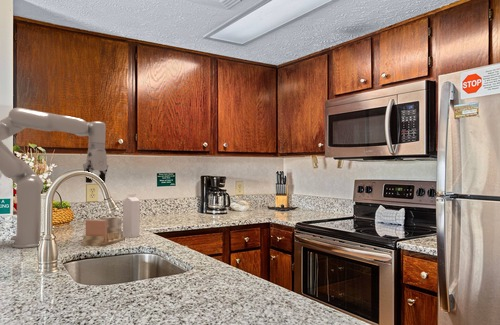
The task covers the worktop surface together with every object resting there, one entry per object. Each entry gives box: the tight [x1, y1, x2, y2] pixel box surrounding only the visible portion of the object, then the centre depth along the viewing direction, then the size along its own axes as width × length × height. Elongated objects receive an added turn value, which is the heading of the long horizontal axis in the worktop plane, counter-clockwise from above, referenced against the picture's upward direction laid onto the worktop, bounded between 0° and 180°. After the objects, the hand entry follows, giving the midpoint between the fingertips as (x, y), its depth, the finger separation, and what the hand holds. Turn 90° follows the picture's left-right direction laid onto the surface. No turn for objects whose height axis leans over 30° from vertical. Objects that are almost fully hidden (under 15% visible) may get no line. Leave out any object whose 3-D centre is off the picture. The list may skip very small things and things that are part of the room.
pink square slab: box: [85, 219, 107, 243], centre depth 180 cm, size 10×2×10 cm, turn 77°
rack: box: [80, 216, 126, 247], centre depth 186 cm, size 12×18×11 cm, turn 167°
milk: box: [122, 193, 141, 239], centre depth 203 cm, size 6×6×22 cm
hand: (95, 182), depth 188 cm, fingers open, 9 cm apart
